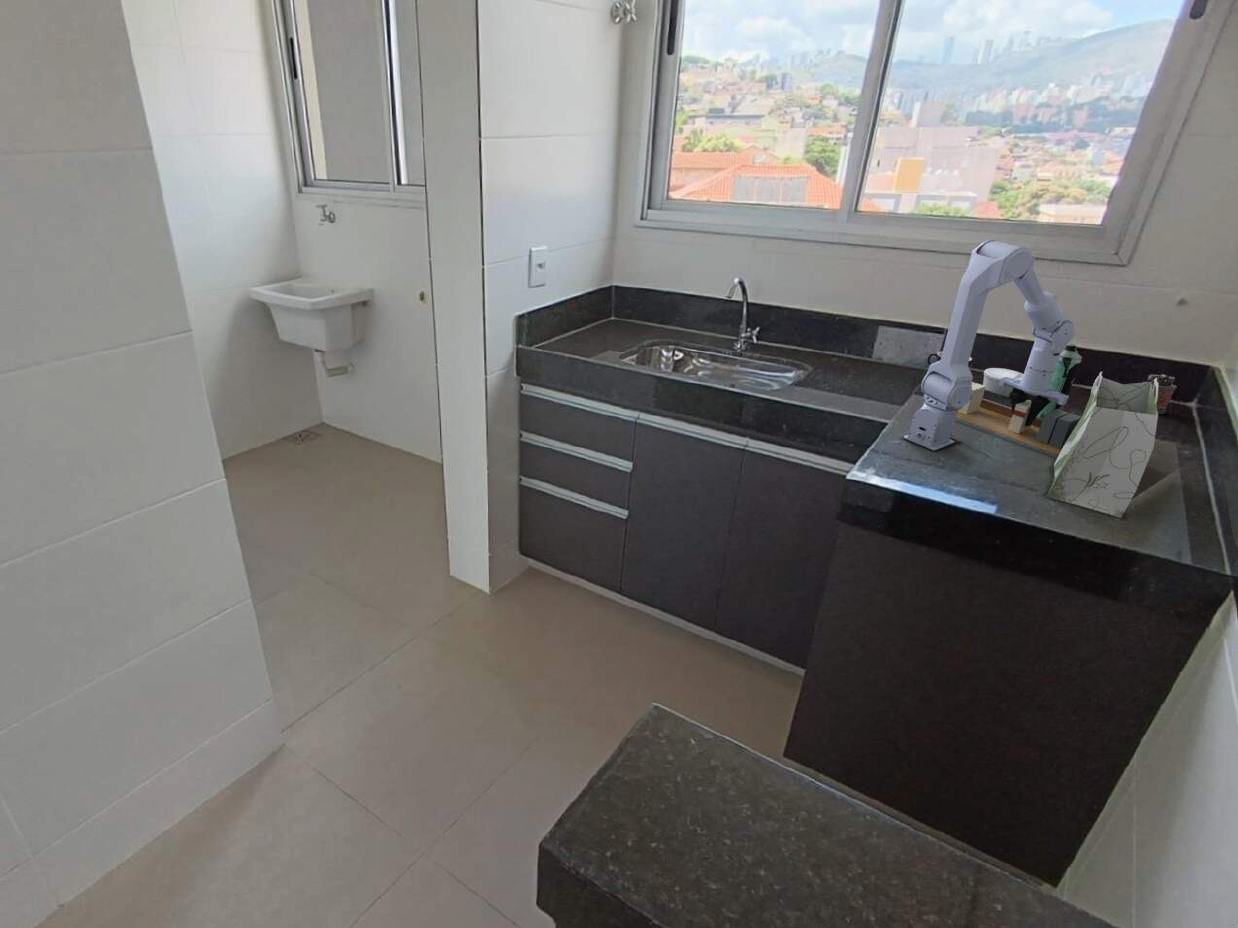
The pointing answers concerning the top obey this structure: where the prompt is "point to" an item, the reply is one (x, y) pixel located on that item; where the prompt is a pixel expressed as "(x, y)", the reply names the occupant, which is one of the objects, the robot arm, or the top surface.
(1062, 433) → the grey book
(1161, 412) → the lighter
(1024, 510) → the top surface
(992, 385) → the ramekin
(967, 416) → the shelf board
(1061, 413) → the grey book
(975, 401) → the cream rectangular block
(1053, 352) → the robot arm
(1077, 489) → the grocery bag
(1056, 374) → the spray can
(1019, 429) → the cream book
